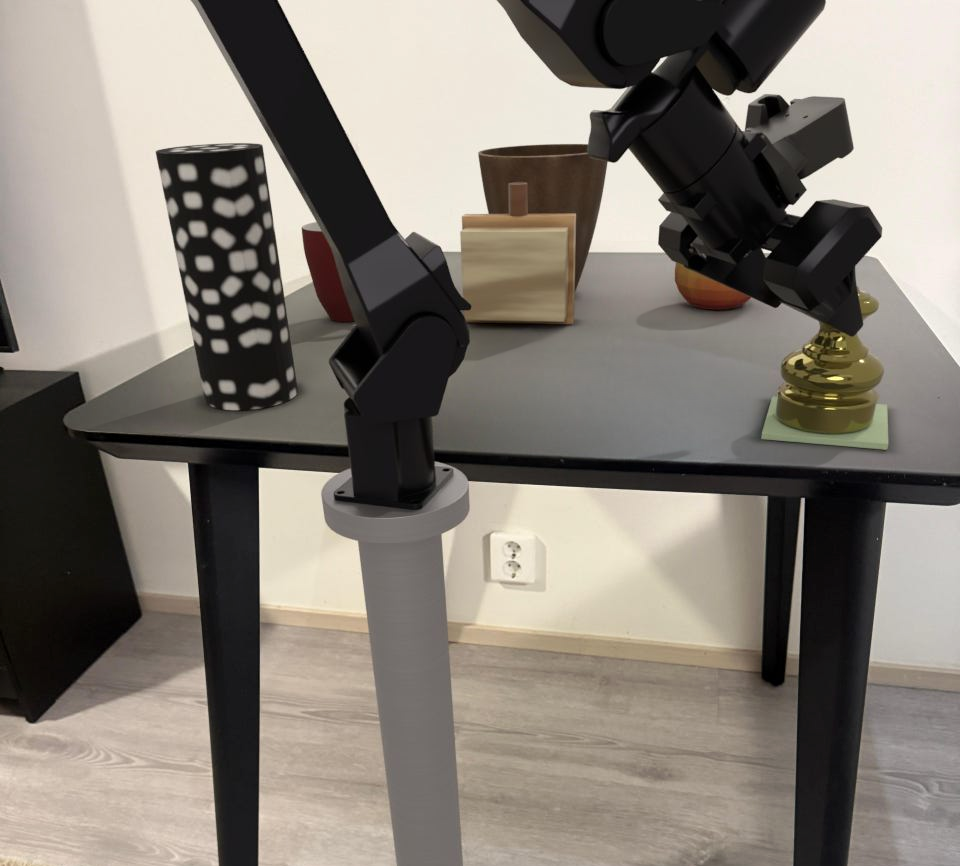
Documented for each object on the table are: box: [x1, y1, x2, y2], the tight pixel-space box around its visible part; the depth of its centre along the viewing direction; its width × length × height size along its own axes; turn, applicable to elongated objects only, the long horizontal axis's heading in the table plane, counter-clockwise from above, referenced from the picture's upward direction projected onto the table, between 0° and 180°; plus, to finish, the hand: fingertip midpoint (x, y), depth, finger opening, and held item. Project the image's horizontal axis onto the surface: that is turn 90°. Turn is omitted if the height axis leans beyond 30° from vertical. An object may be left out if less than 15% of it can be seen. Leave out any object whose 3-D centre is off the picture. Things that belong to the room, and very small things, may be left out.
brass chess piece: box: [775, 285, 885, 434], centre depth 69 cm, size 7×7×10 cm
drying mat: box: [760, 396, 889, 451], centre depth 73 cm, size 9×9×1 cm
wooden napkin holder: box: [459, 182, 576, 325], centre depth 98 cm, size 5×12×14 cm, turn 77°
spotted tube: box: [155, 142, 299, 411], centre depth 79 cm, size 8×8×20 cm
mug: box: [301, 221, 355, 323], centre depth 104 cm, size 11×8×10 cm
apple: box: [674, 249, 764, 311], centre depth 104 cm, size 10×10×8 cm
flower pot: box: [477, 143, 609, 292], centre depth 109 cm, size 15×15×16 cm
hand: (816, 316), depth 67 cm, fingers open, 9 cm apart
